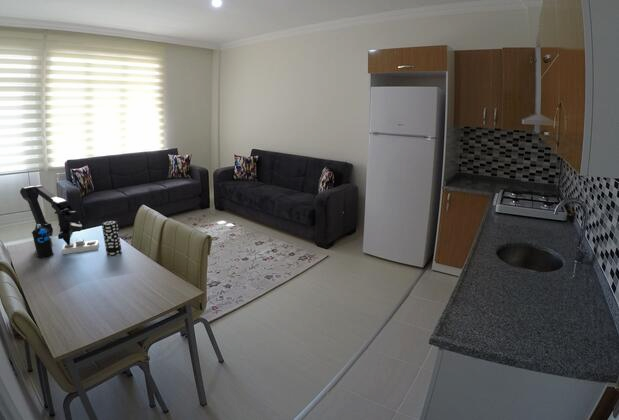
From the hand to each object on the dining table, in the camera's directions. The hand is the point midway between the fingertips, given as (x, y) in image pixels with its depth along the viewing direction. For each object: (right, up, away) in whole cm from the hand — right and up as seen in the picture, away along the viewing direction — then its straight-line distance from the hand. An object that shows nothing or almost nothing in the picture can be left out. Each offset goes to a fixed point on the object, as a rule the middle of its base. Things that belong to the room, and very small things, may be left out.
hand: (68, 244), depth 224 cm
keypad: (+5, -3, +4) cm, 7 cm away
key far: (+11, -1, +6) cm, 12 cm away
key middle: (+5, -1, +3) cm, 6 cm away
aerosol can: (-10, -6, -7) cm, 13 cm away
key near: (0, -3, +1) cm, 3 cm away
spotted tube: (+30, -5, -2) cm, 30 cm away
